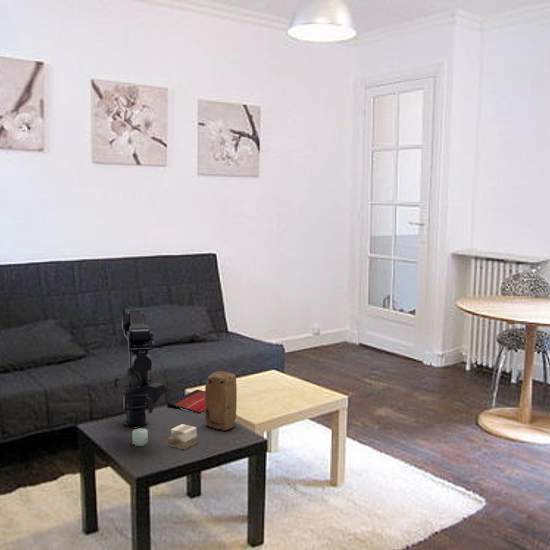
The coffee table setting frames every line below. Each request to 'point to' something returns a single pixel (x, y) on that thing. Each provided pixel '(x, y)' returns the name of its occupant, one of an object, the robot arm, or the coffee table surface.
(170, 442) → the tower base
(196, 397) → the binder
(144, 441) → the pale green cube
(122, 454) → the coffee table surface
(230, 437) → the coffee table surface
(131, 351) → the robot arm
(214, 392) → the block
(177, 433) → the tower top
